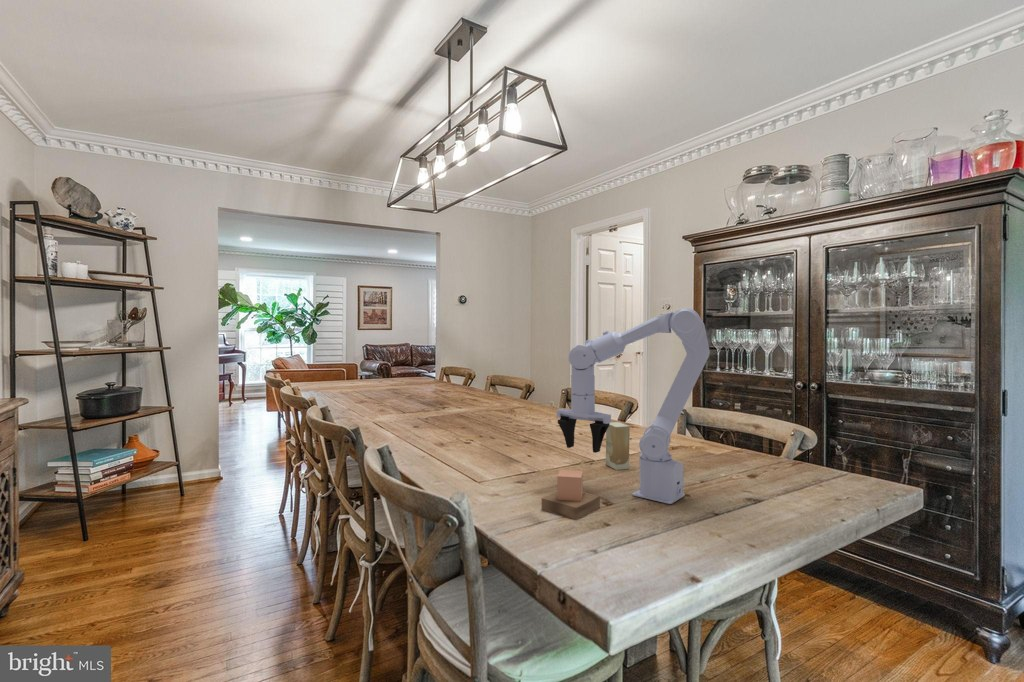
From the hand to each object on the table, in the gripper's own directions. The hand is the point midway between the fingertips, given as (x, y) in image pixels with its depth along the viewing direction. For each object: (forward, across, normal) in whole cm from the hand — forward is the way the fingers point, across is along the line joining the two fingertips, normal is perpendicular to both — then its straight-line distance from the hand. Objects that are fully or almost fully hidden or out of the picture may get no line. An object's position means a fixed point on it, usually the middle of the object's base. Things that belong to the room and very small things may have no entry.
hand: (583, 449), depth 121 cm
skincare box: (+10, +3, -22) cm, 24 cm away
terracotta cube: (+7, -6, +14) cm, 16 cm away
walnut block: (+10, -6, +14) cm, 18 cm away
